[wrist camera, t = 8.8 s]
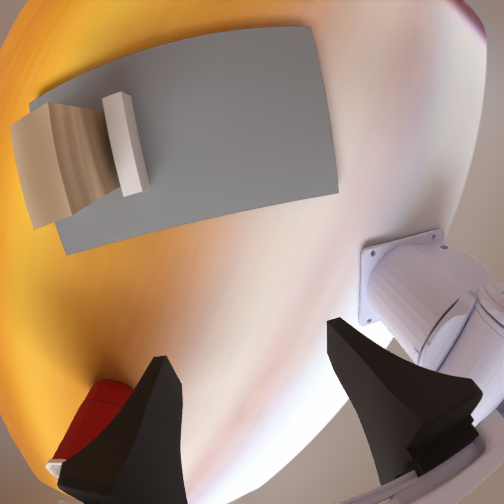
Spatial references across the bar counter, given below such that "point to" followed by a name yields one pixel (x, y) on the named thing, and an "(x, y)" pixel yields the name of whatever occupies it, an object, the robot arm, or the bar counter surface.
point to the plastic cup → (90, 420)
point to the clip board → (204, 131)
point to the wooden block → (62, 160)
